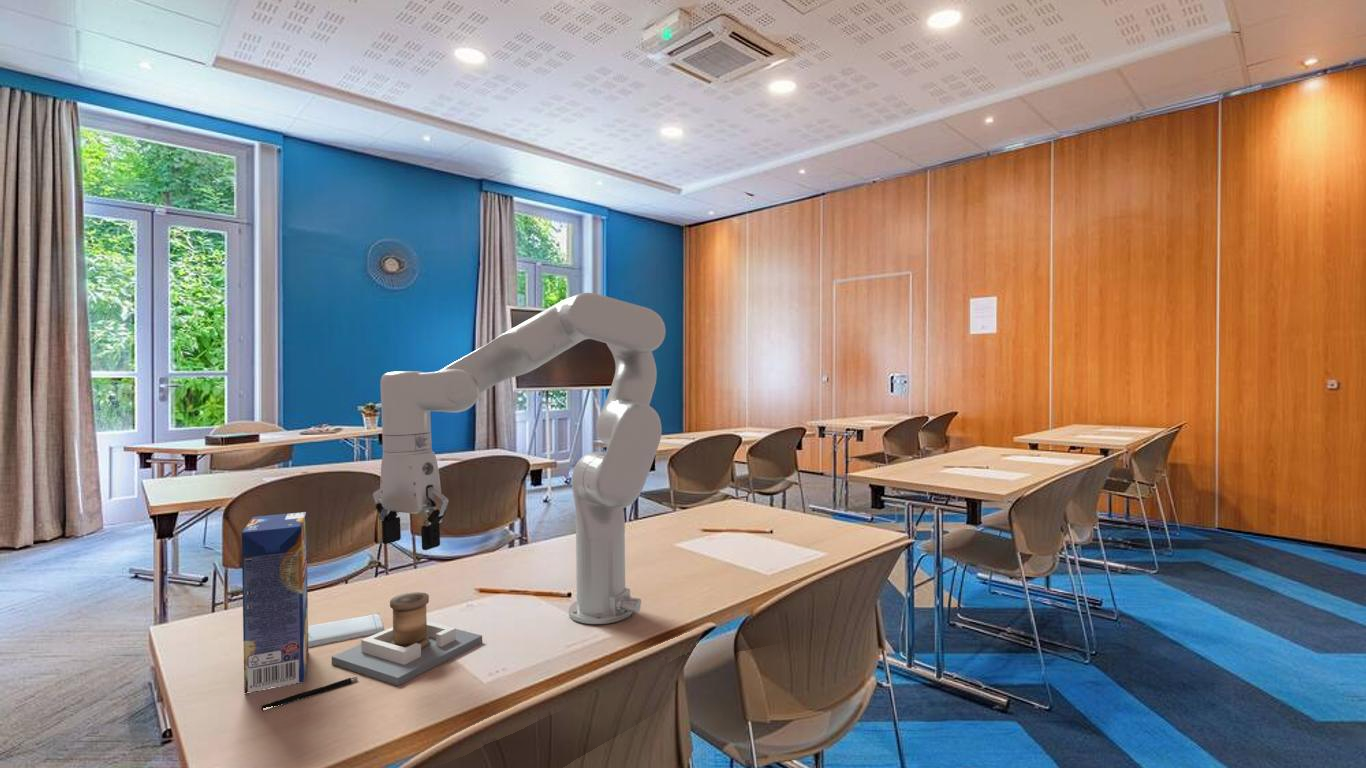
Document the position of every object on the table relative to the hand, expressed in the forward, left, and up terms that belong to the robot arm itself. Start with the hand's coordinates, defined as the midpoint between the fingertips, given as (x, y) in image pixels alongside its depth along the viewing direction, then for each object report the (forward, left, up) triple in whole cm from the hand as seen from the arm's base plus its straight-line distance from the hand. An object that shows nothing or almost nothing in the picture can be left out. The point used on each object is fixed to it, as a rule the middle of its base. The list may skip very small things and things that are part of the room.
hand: (411, 544), depth 104 cm
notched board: (0, 0, -18) cm, 18 cm away
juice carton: (+13, +14, -19) cm, 27 cm away
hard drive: (+19, 0, -19) cm, 27 cm away
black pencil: (+2, +16, -19) cm, 25 cm away
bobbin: (0, 0, -17) cm, 17 cm away
